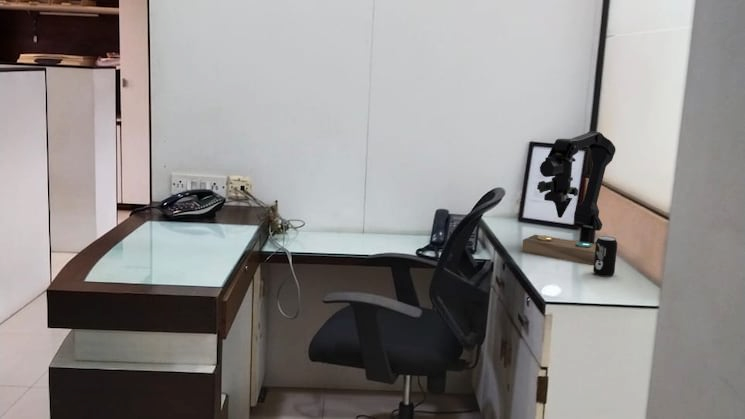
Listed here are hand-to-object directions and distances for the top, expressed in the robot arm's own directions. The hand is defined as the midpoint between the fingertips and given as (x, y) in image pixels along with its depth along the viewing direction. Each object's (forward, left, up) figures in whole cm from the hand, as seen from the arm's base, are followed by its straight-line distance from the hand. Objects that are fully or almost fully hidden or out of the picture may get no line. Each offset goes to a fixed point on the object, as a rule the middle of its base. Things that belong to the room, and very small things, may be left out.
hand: (559, 217), depth 267 cm
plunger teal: (+5, +11, -12) cm, 17 cm away
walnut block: (+5, +4, -12) cm, 14 cm away
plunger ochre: (+5, -3, -12) cm, 14 cm away
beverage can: (+21, +23, -13) cm, 34 cm away
